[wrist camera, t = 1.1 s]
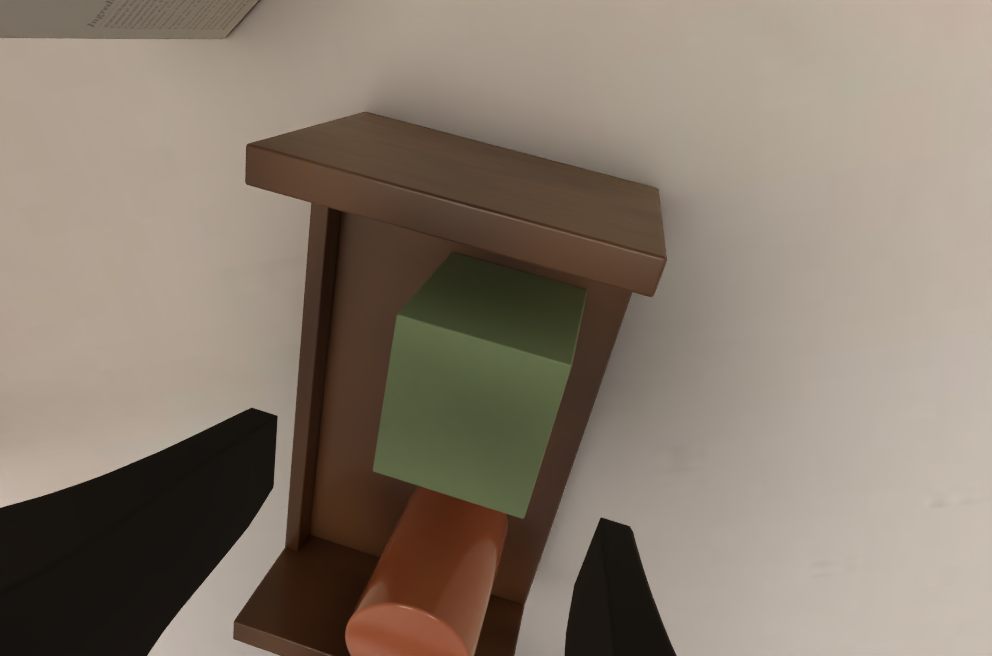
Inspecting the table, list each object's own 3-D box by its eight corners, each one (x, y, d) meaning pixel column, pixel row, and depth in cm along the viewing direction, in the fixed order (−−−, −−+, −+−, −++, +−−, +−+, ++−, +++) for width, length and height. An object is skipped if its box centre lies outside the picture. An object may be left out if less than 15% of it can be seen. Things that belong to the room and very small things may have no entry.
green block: (547, 419, 21) (523, 520, 17) (426, 383, 22) (371, 472, 17) (588, 289, 19) (572, 365, 15) (451, 250, 19) (396, 314, 15)
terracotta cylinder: (496, 569, 25) (457, 714, 19) (402, 538, 25) (338, 672, 20) (519, 494, 23) (483, 632, 18) (416, 461, 23) (350, 587, 18)
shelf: (659, 188, 20) (668, 258, 14) (528, 577, 28) (496, 732, 22) (363, 111, 21) (244, 143, 14) (320, 509, 29) (232, 639, 23)
